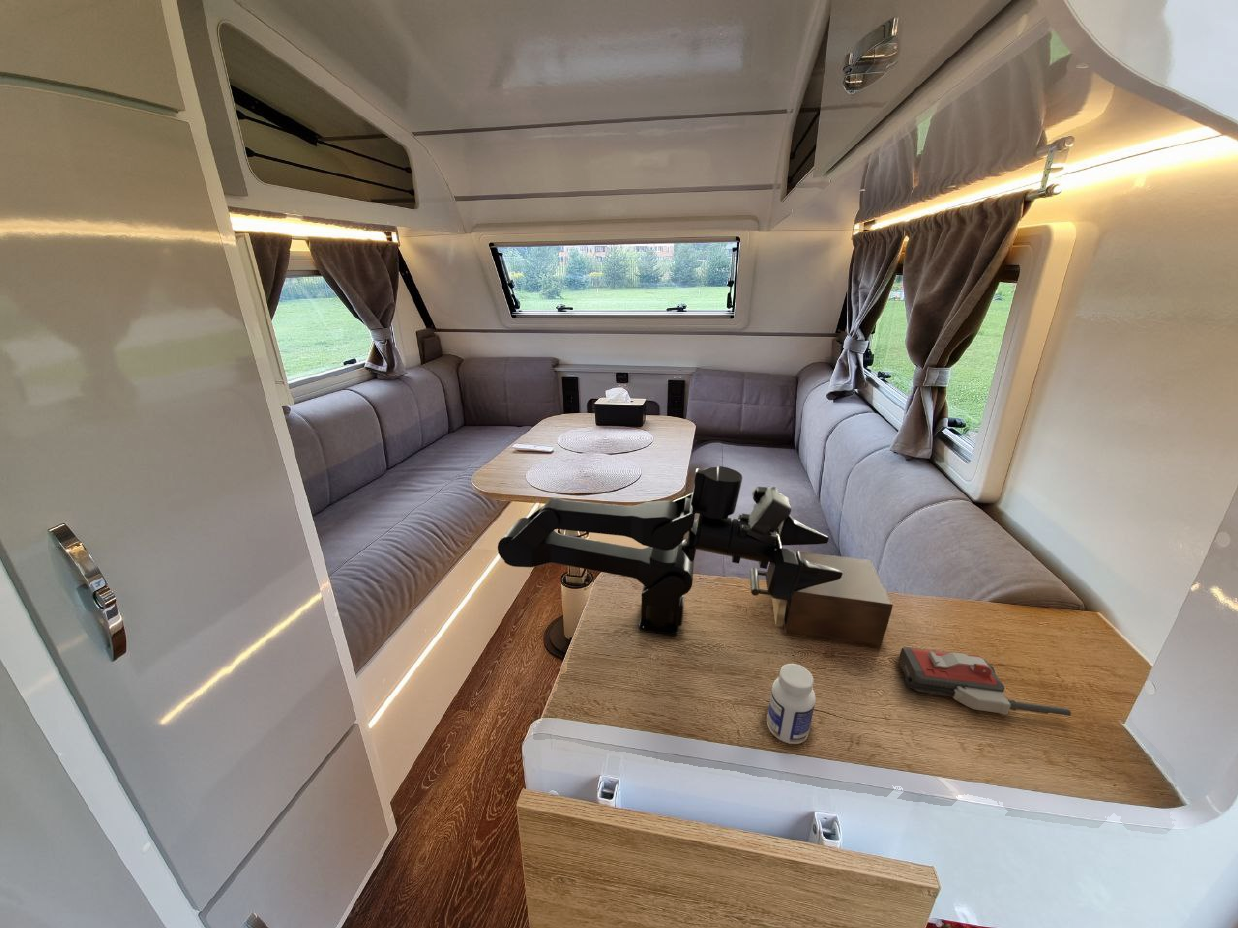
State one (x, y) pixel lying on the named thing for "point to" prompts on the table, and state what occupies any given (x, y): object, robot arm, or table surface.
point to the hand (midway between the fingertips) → (834, 556)
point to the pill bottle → (791, 704)
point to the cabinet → (841, 604)
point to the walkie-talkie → (962, 680)
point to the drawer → (778, 605)
